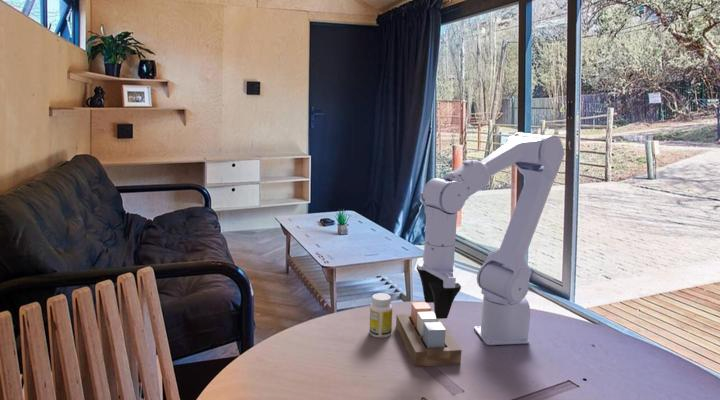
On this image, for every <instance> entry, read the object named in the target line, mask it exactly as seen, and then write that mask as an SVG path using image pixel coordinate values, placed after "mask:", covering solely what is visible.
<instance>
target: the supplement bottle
mask: <svg viewBox="0 0 720 400" xmlns="http://www.w3.org/2000/svg"><path fill="white" fill-rule="evenodd" d="M371 297H372V298H371V304H370V306H369V334H370V335H371V336H373V337H375V338H387V337H389V336H390V335H391V334H392V329H393V328H392V327H393V306H392V305H393V304H391V303H392V297H391V295H390V294H388V293H384V292H378V293H375V294H373V295H372V296H371Z"/></svg>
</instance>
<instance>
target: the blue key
mask: <svg viewBox="0 0 720 400" xmlns="http://www.w3.org/2000/svg"><path fill="white" fill-rule="evenodd" d="M445 333H446V329H445V328H444V326H443V325H442V323H441V322H425V323H424V330H423V341H424V342H425V344H426V346H427V348H438V347H445Z"/></svg>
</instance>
